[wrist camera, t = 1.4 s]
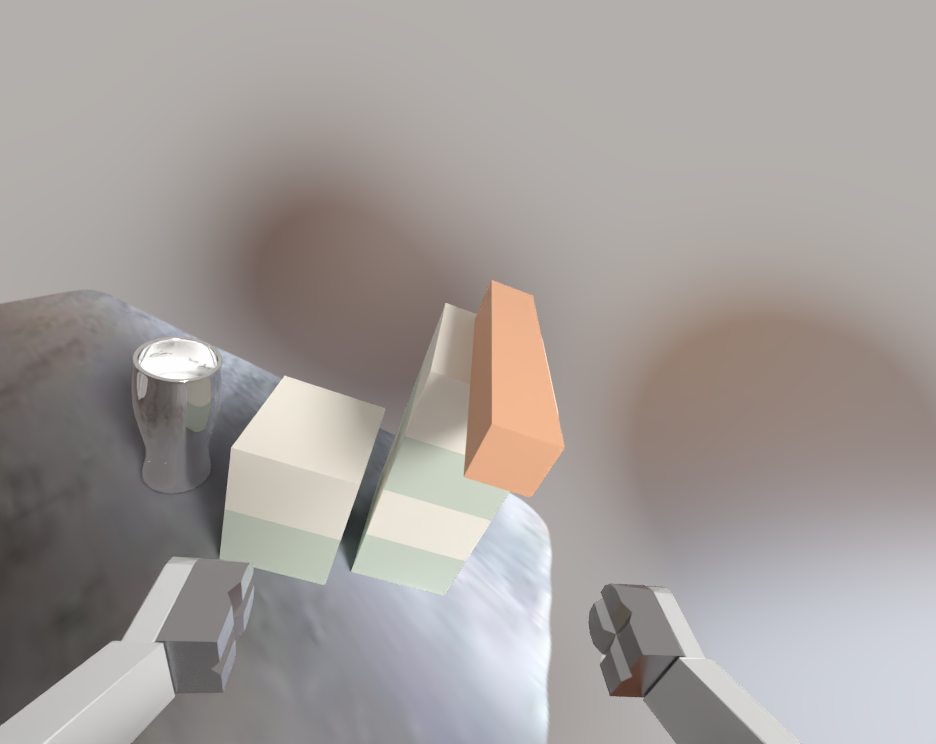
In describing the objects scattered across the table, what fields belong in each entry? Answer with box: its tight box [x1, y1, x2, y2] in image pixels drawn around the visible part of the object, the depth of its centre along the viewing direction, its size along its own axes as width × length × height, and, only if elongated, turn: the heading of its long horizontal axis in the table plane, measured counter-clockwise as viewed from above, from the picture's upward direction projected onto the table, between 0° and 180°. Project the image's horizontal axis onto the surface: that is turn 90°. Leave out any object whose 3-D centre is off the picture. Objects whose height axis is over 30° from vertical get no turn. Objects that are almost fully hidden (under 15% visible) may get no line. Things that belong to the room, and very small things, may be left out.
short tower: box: [219, 376, 386, 585], centre depth 41 cm, size 10×10×15 cm
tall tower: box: [351, 303, 558, 596], centre depth 43 cm, size 12×10×26 cm
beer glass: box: [132, 337, 222, 494], centre depth 42 cm, size 7×7×15 cm
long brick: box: [464, 280, 565, 498], centre depth 31 cm, size 20×4×4 cm, turn 177°
